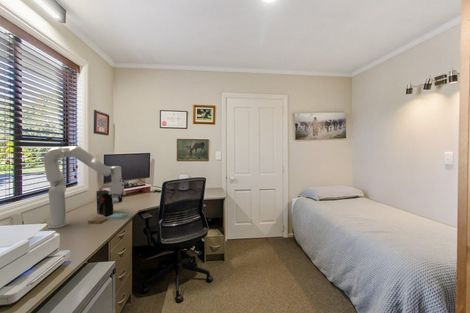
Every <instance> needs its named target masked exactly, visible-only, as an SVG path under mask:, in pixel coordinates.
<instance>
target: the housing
mask: <svg viewBox="0 0 470 313" xmlns="http://www.w3.org/2000/svg"><path fill="white" fill-rule="evenodd" d="M119 198H120V196H119V194H114V195H112V199H113V201H112V204H113V205H115V204H116V205H118V204H120V203H122V202H119Z"/></svg>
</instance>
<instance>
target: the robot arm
mask: <svg viewBox="0 0 470 313" xmlns="http://www.w3.org/2000/svg"><path fill="white" fill-rule="evenodd" d="M73 157H74V159H76V160H78V161H79V162H80V163H83V164H84V165H85V166H87V167H89V168H90V169H92V170H93V171H95V172H96V173H98V174H100V175H102V176H103V177H108V176H111V181H110V188H109V193H108V194H109V195H110V196H111V197H112V195H114V194H119V196H120V198H119V202H121V203H122V202H123V197H124V195H126V194H127V192H126V190H125V186H124V185H125V184H124V182H123V181H124V179H122V167H121V165H120V166H119V165H113V166H109V165H108V166H107V165H106V164H104V163H103V162H101V161H100V160H99V159H98V158H96V157H95V156H94V155H92V154H91V153H89V151H86V150H85V149H83V148H82V147H81V146H79V145H73V146H55V147H52V148H50V149H49V150H48V151H46V153H45V154H44V155H43V165H44V172H45V176H46V180H47V182H49V183H50V184H49V185H50V187H49V189H48V200H49V202H48V203H49V219H48V220H46V222H45V223H46V224H48V225H47V228H49V229H58V228H59V229H60V228H64V227H67V226H68V225H69V221H67V213H66V211H67V209H66V193H65V192H66V191H67V186H66V180H65V175H64V173H63V171H61V169H60V164H59V160H60V159H62V158H73ZM112 201H113V199H112Z"/></svg>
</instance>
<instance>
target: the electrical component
mask: <svg viewBox="0 0 470 313" xmlns="http://www.w3.org/2000/svg"><path fill="white" fill-rule="evenodd" d="M109 192H110V190H106V189H103V190H102V189H101V190H96V213H97V214H99V215H101V216H102V217H109V216H111V215H113V214H114V213H116V212H115V210H114V204H112V197H111V196H110V195H109V194H108V193H109Z"/></svg>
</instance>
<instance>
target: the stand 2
mask: <svg viewBox="0 0 470 313" xmlns="http://www.w3.org/2000/svg"><path fill="white" fill-rule="evenodd" d="M126 216H127V213H125V212H123V213H121V212H120V213H119V212H115V213H114V214H113V215H111V216H107V217H108V220H122V219H124V217H126Z"/></svg>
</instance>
